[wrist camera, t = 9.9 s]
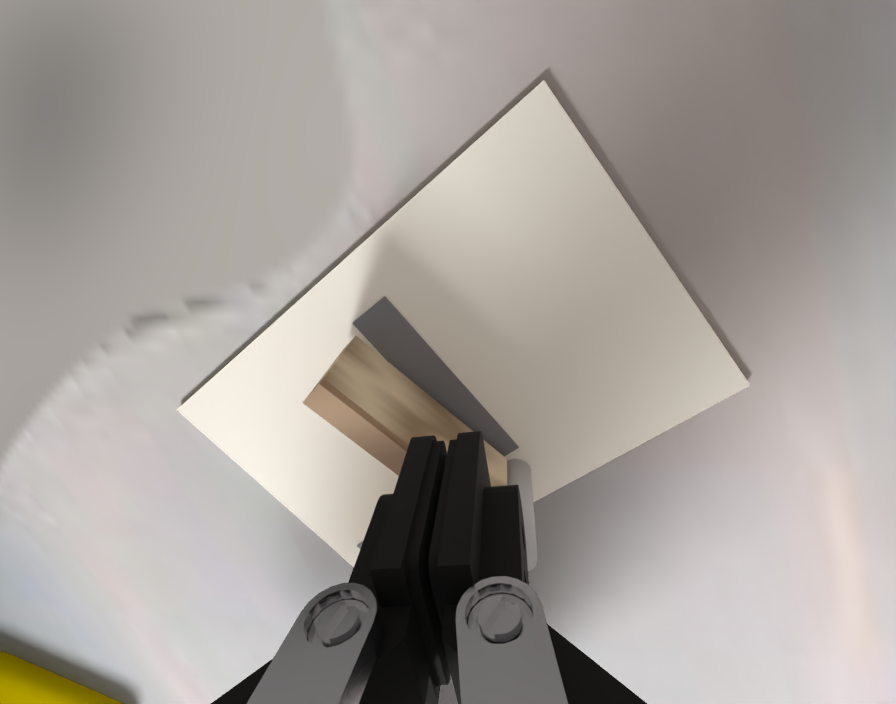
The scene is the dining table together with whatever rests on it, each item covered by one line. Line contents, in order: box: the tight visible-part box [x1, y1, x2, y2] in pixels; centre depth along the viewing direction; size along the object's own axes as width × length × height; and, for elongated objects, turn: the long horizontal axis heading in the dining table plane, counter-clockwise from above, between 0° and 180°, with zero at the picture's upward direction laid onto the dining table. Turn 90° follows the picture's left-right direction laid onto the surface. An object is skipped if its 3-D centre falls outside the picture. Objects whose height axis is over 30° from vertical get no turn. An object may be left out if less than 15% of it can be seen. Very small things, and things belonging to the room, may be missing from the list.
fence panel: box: [303, 335, 507, 486], centre depth 24 cm, size 11×1×6 cm, turn 49°
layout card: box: [177, 80, 750, 572], centre depth 24 cm, size 27×18×7 cm, turn 130°
